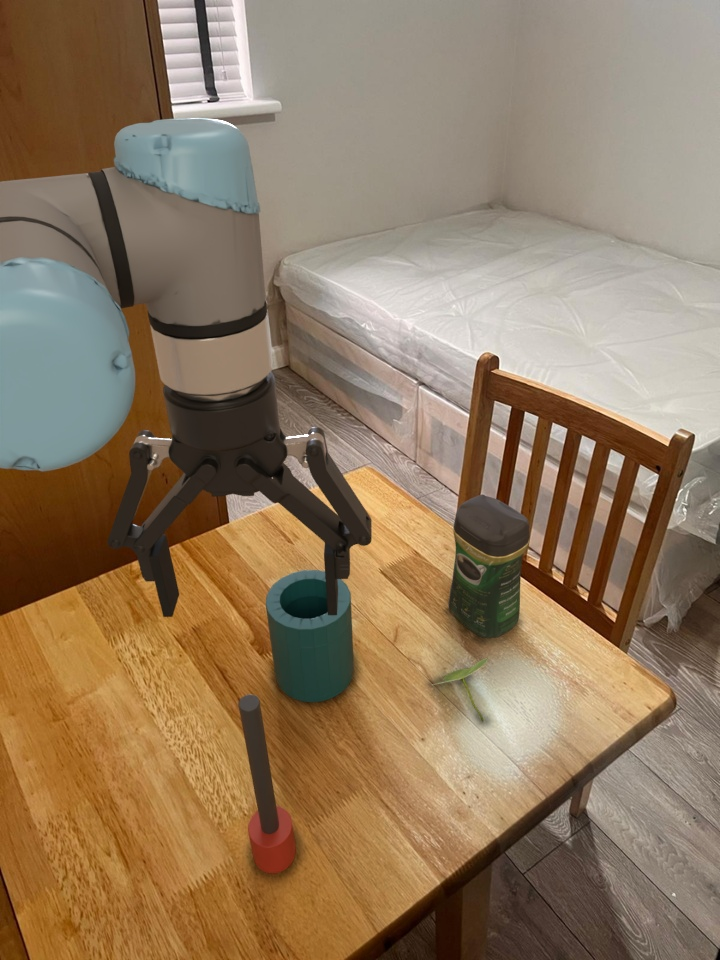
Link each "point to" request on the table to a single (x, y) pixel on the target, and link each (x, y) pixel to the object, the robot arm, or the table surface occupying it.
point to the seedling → (463, 673)
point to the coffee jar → (488, 566)
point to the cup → (310, 636)
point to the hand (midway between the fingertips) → (252, 604)
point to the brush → (265, 797)
